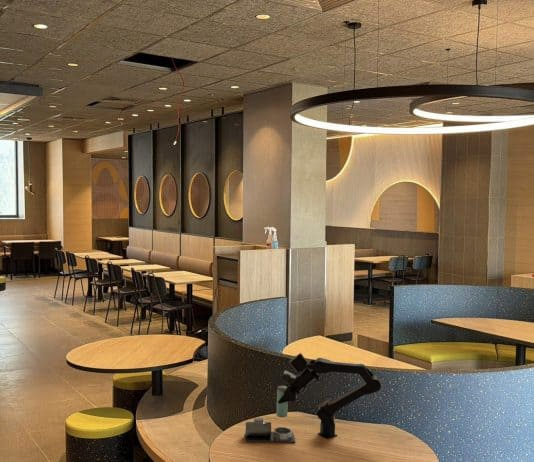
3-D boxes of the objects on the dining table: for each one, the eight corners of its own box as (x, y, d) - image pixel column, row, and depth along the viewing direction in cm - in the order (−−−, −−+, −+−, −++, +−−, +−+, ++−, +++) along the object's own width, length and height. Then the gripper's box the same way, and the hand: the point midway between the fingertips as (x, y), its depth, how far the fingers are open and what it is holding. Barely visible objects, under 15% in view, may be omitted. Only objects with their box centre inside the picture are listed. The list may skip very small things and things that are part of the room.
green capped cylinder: (289, 416, 271) (290, 388, 270) (280, 418, 268) (281, 389, 267) (282, 412, 275) (283, 385, 274) (274, 414, 272) (275, 386, 271)
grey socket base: (292, 434, 267) (293, 415, 267) (295, 443, 257) (295, 423, 257) (245, 433, 266) (246, 414, 266) (245, 442, 256) (246, 423, 256)
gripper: (294, 360, 278) (270, 381, 281) (289, 371, 260) (263, 394, 263) (310, 378, 278) (286, 399, 280) (306, 390, 259) (280, 413, 262)
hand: (279, 400), depth 271 cm, fingers closed on green capped cylinder, 5 cm apart
